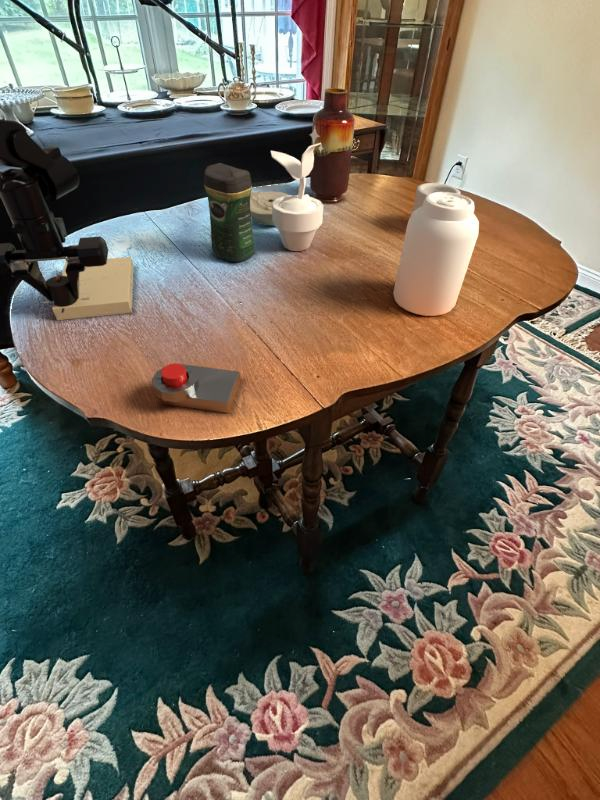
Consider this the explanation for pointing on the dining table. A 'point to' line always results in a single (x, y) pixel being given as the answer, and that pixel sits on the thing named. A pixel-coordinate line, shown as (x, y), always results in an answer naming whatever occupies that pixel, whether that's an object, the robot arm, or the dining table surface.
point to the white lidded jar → (436, 254)
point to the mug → (431, 188)
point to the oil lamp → (263, 206)
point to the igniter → (201, 389)
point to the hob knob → (60, 291)
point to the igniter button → (174, 375)
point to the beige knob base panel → (101, 291)
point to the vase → (332, 147)
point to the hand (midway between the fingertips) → (65, 299)
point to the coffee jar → (230, 212)
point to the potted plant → (297, 203)
